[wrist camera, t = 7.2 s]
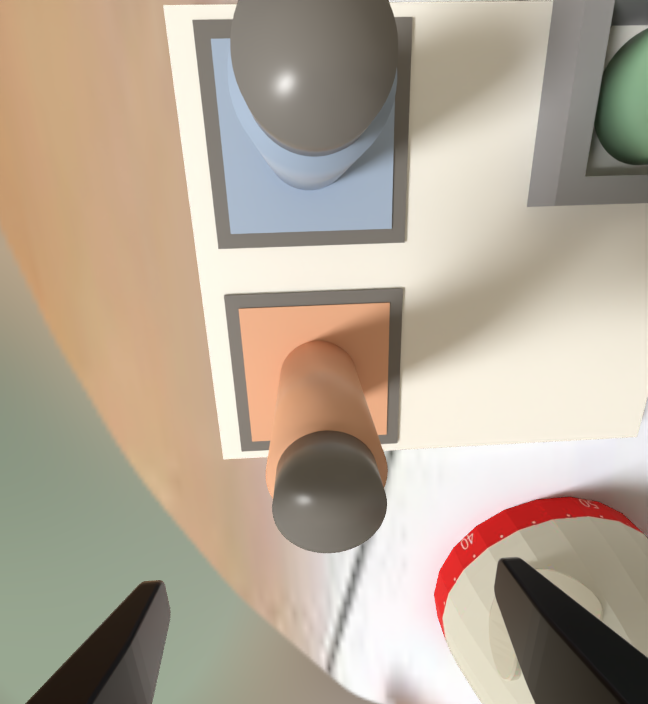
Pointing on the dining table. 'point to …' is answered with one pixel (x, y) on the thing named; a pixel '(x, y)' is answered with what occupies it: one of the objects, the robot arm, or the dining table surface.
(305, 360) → the terracotta marker
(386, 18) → the blue bottle
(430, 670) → the dining table surface
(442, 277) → the cream board with squares
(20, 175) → the dining table surface
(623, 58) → the button
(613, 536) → the kitchen timer
